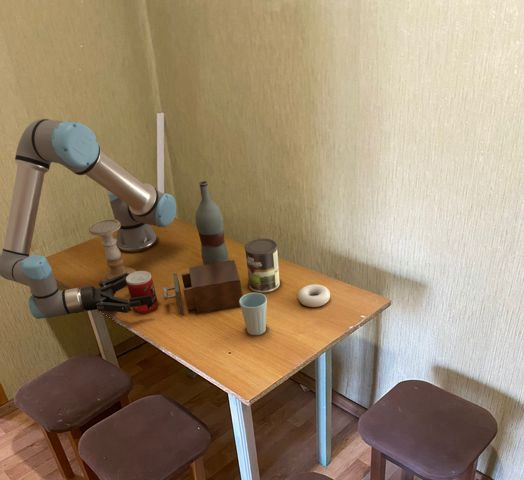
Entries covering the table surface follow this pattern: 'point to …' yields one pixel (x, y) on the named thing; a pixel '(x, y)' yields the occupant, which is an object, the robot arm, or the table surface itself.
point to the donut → (314, 301)
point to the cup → (254, 312)
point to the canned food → (142, 289)
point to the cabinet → (215, 286)
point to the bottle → (210, 229)
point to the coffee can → (262, 265)
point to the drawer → (187, 292)
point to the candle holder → (110, 247)
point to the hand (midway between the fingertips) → (151, 287)
